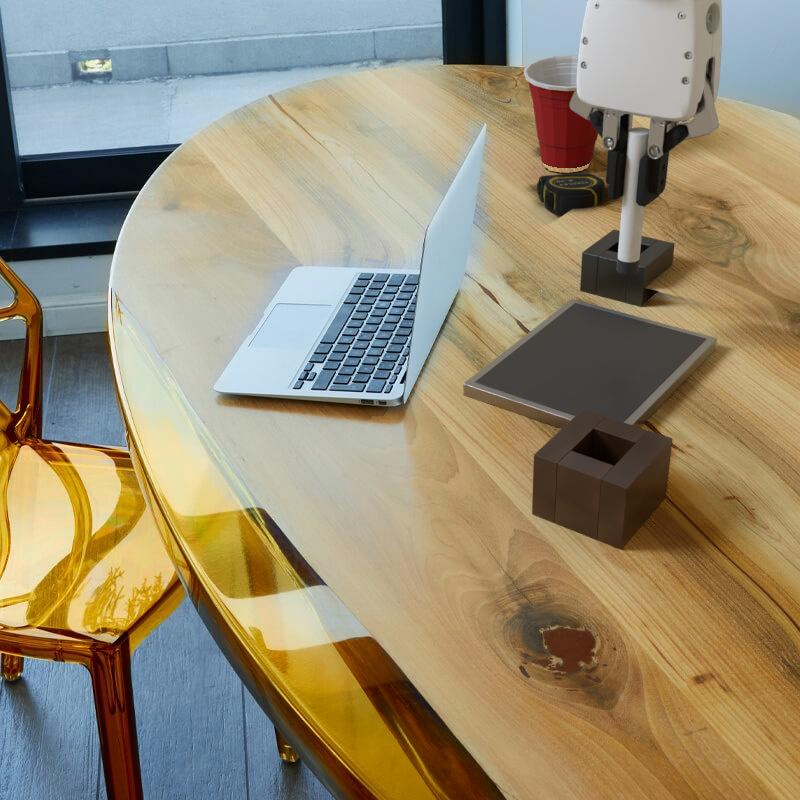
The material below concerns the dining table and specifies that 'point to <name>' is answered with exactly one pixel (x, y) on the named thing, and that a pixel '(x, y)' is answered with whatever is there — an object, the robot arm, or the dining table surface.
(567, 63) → the plastic cup
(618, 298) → the stylus holder
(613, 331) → the tablet
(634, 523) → the pen stand
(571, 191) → the tape measure
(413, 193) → the dining table surface
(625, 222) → the stylus
